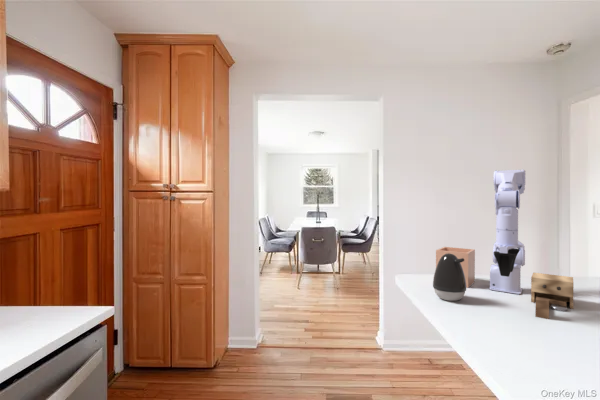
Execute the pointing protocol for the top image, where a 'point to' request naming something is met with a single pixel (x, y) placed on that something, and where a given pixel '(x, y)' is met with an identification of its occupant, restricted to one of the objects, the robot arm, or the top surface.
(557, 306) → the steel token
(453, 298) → the black rounded egg shape
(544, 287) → the bread box
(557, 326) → the top surface
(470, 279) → the utensil crock
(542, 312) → the wooden mallet
